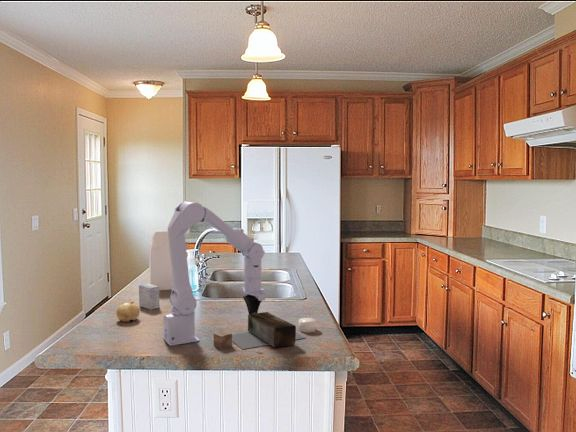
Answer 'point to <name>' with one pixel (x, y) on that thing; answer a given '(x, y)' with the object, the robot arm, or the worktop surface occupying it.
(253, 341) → the mat
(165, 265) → the milk
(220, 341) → the walnut block
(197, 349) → the worktop surface
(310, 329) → the cream egg shape
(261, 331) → the beverage carton
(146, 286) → the medicine box
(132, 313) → the onion
